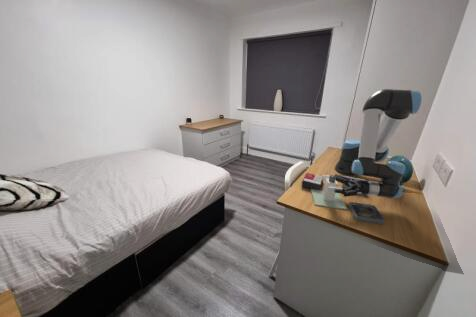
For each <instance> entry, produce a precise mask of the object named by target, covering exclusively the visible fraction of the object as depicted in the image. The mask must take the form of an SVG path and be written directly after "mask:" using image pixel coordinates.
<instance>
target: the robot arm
mask: <svg viewBox="0 0 476 317" xmlns="http://www.w3.org/2000/svg"><path fill="white" fill-rule="evenodd" d="M421 105H422V93H421V92H420V91H419V90H412V89H408V90H407V89H393V88H391V89H390V88H385V89H381V90H378V91H376V92H374V93H373V94H371V96H369V98H367V99H366V101H365V103H364V105H363V107H362V113H361V114H362V115H363V122H362V127H361V133H360V134H361V136H360V140H358V139H347V140H345V141H344V142H343V144H342V146H341V148H342V149H341V153H340V155H339V159H338V161H337V162H336V164H335V165H334V170H335V171H336V172H338V173H340V174H343V176H342V175H340V174H334V175H335V176H336V181H337V183H341V184H342V183H343V184H345V185H346V186H347V188H344V187H337V188H336V187H328V189H327V192H334V193H339V194H340V195H343V197H345V198H346V197H352V196H362V195H364V196H366V195H367V196H373V197H382V198H388V199H400V198H402V196H403V191H404V189H403V186H402V185H400V182H401V181H402V179H403V176H404V174H405V170H406V165H405V164H404V163H403V162H400V161H396V160H388V161H387V162H386V164H384V163H383V162H384V161H385V160H386V159H387V157H388V155H389V151H390V150H389V146H388V145H389V144H388V143H389V142H390V141H391V140H392V137H393V136H394V134H395V132H397V129H398V128H399V126H400V124H401V123H402V122H403V120H406V119H408V118H409V116H410V115H411V114H412V115H415V114H417V113H418V112H419V110H420V107H421ZM383 114H384V116H383ZM381 116H383V118H382V120H381ZM380 121H381V122H380ZM345 175H346V176H348V175H349V176H355V175H359V176H364V177H370V178H377V179H381V180H380V181H376V180H375V181H373V180H366V179H364V180H359V181H358V182H354V179H352V178H347V177H344V176H345ZM322 176H323V177H322V180H325V181H326V178H327V179H329V177H330V174H329V175H327V174H322ZM365 180H366V181H365Z"/></svg>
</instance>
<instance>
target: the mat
mask: <svg viewBox="0 0 476 317" xmlns="http://www.w3.org/2000/svg"><path fill="white" fill-rule="evenodd" d="M310 192H311V195H312V196H311V197H312V200H313V202H314V206H318V207H326V208H333V209H339V210H348V208H347V205H346V203H345V202H344V200H343V198H342V196H341V193H335V197H334V201H328V200H324V199H323V196H322V194H323V190H322V189H320V190H316V189H312V188H310Z"/></svg>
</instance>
